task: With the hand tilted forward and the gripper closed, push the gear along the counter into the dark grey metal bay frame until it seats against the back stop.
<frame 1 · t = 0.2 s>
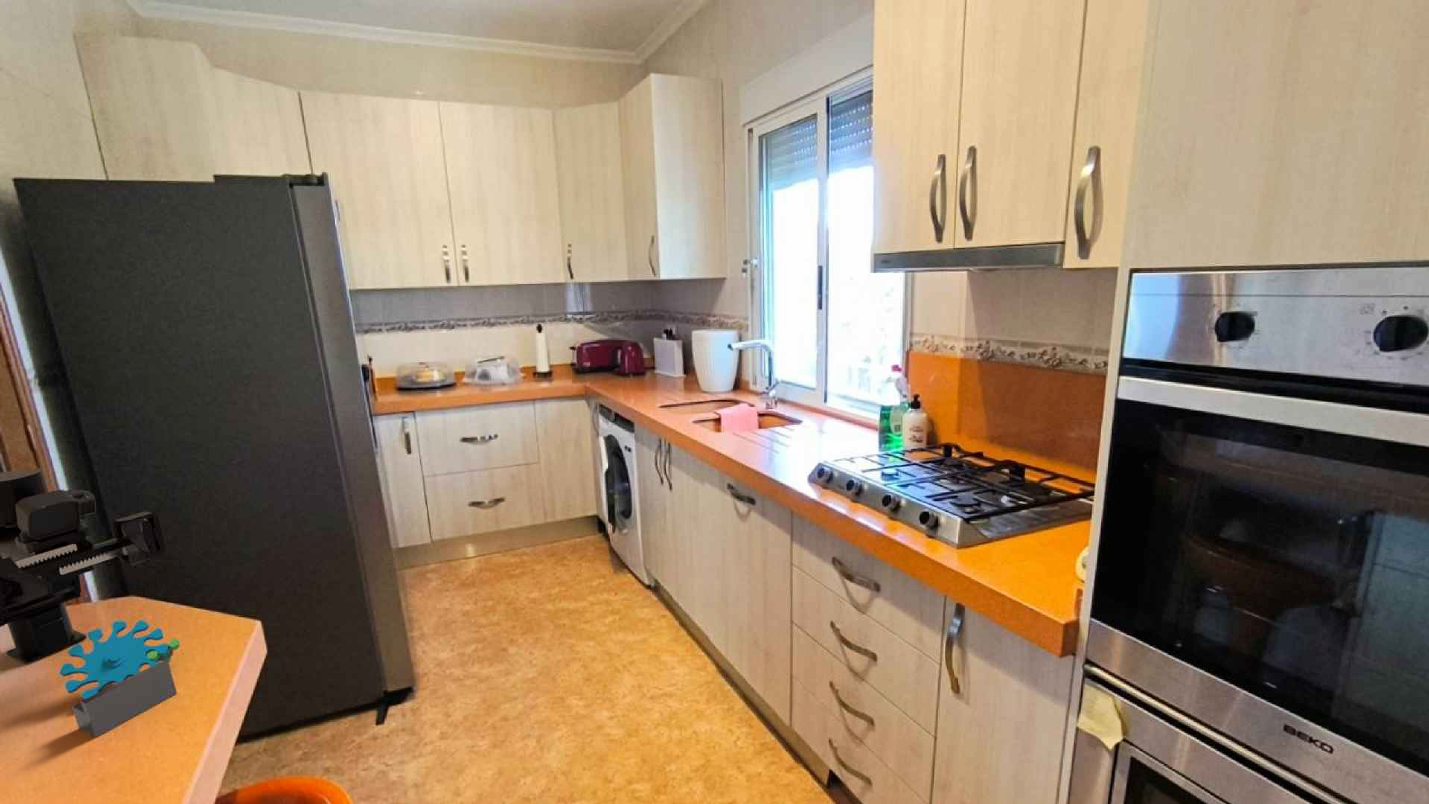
hand: (101, 571, 75), 16 cm above the table, tool horizontal, fingers open, 9 cm apart
bay frame: (137, 686, 78), on the table
gear: (130, 684, 79), on the table
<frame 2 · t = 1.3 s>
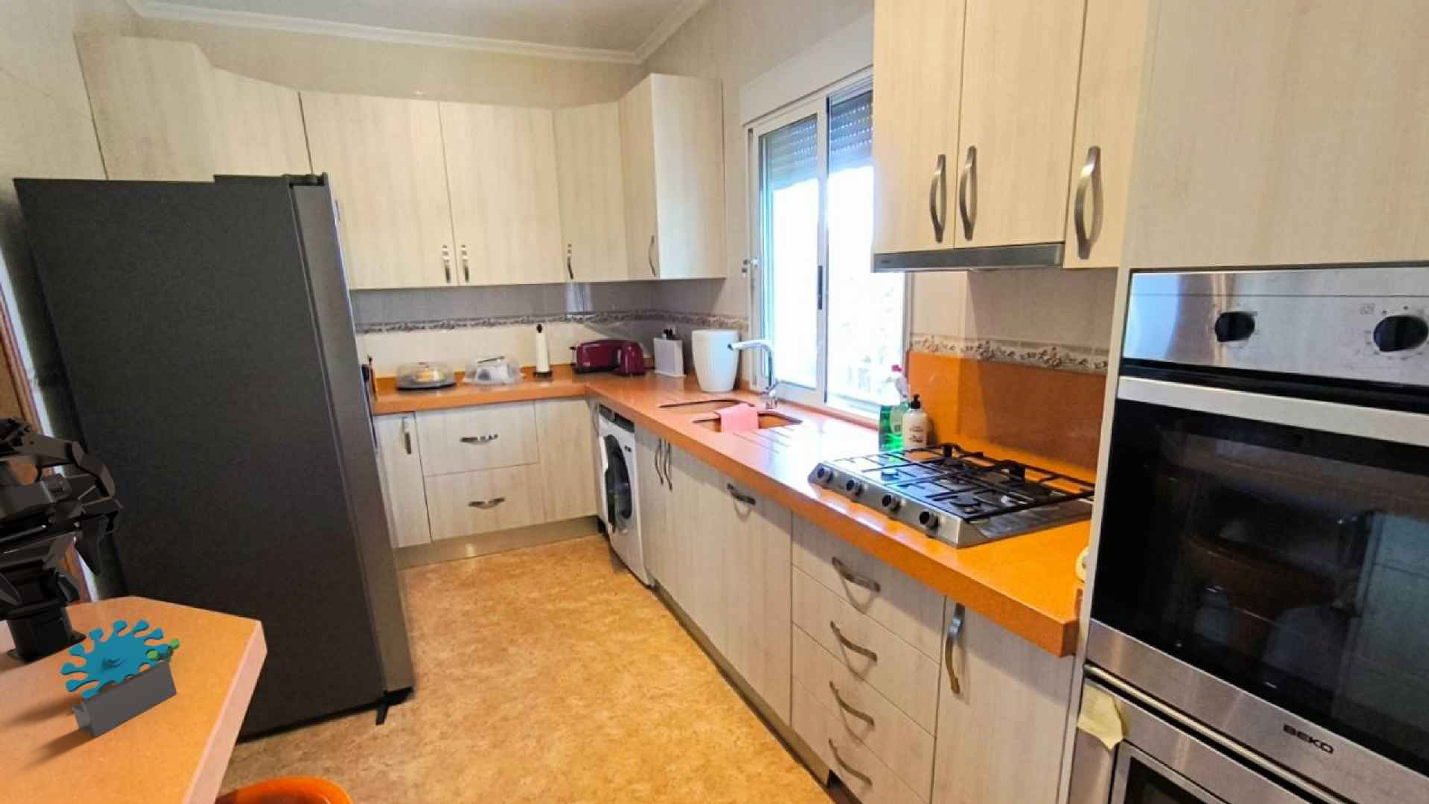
hand: (61, 587, 79), 13 cm above the table, tool tilted 45°, fingers open, 7 cm apart
nothing on the table moved.
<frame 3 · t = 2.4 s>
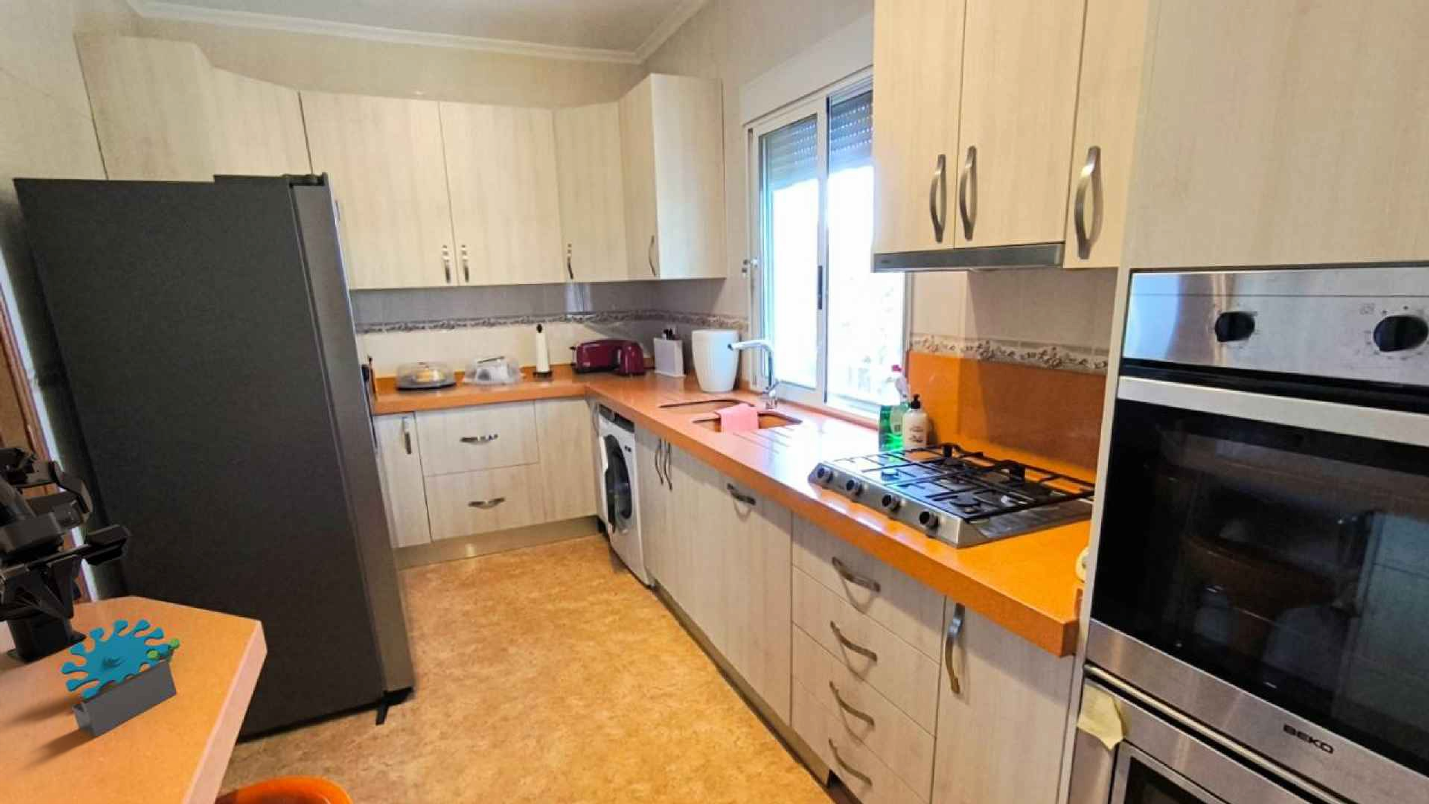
hand: (69, 618, 80), 8 cm above the table, tool tilted 45°, fingers closed
nothing on the table moved.
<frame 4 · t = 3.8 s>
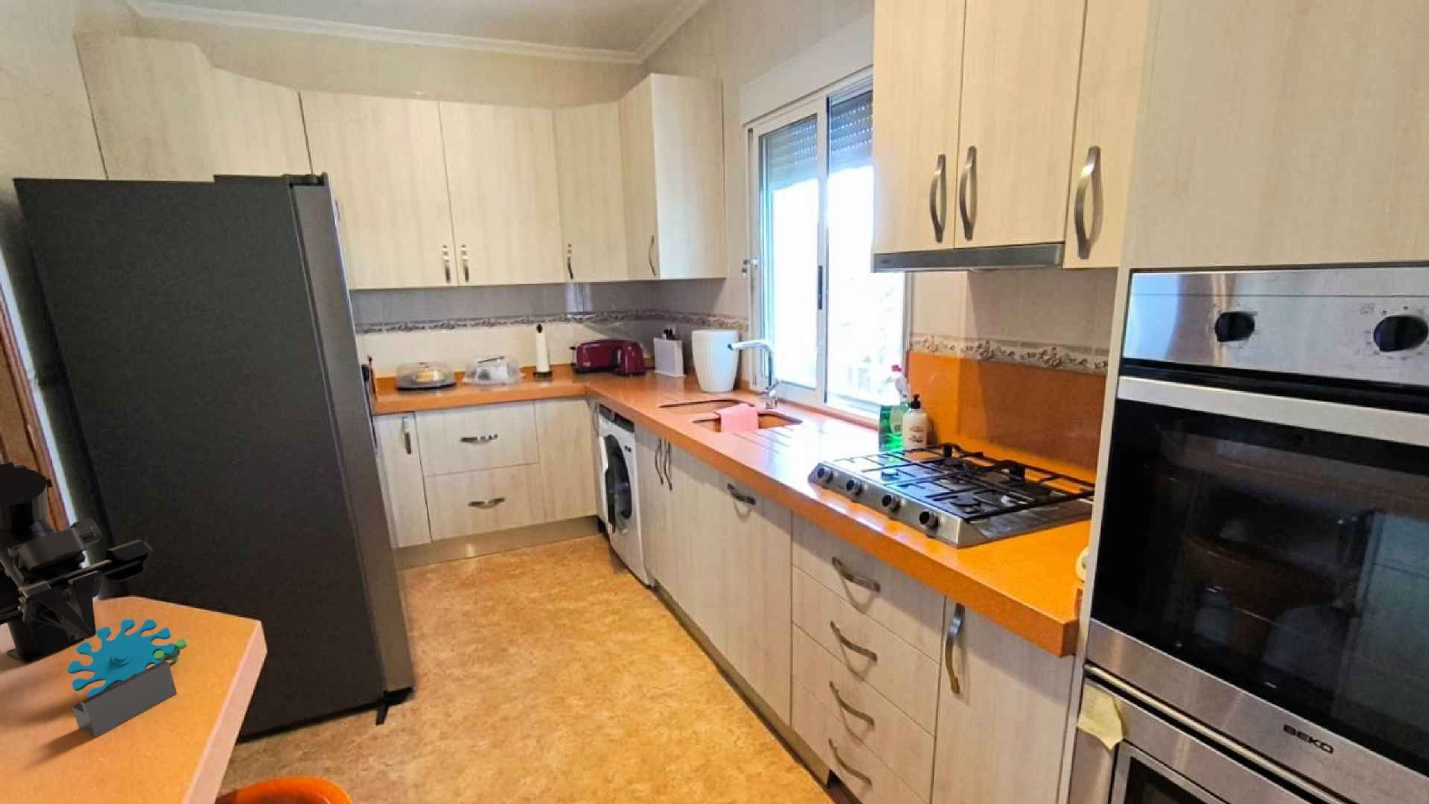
hand: (92, 635, 78), 7 cm above the table, tool tilted 45°, fingers closed
gear: (137, 683, 79), on the table, touching gripper
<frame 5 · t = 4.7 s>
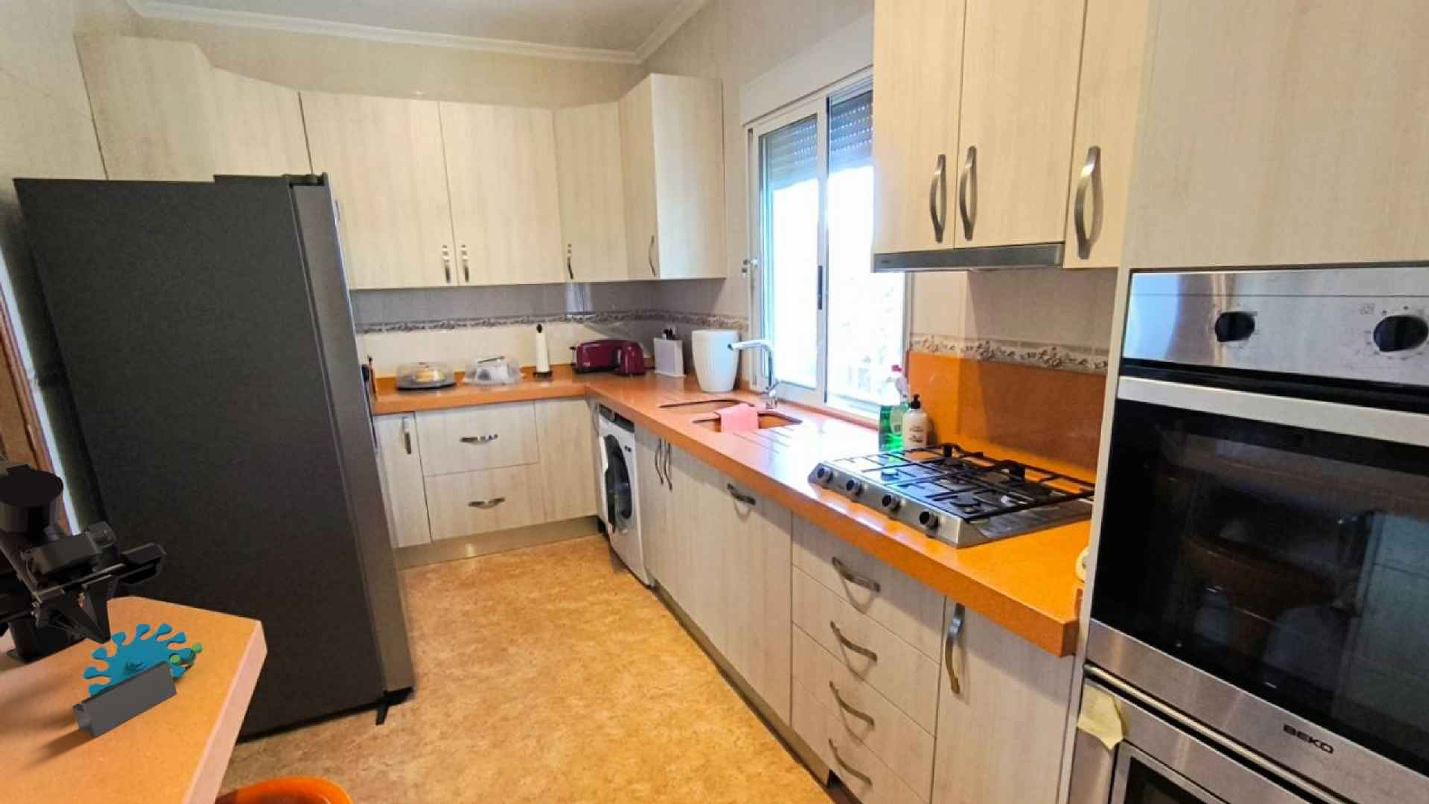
hand: (106, 641, 77), 7 cm above the table, tool tilted 45°, fingers closed
gear: (153, 688, 78), on the table, touching bay frame, gripper
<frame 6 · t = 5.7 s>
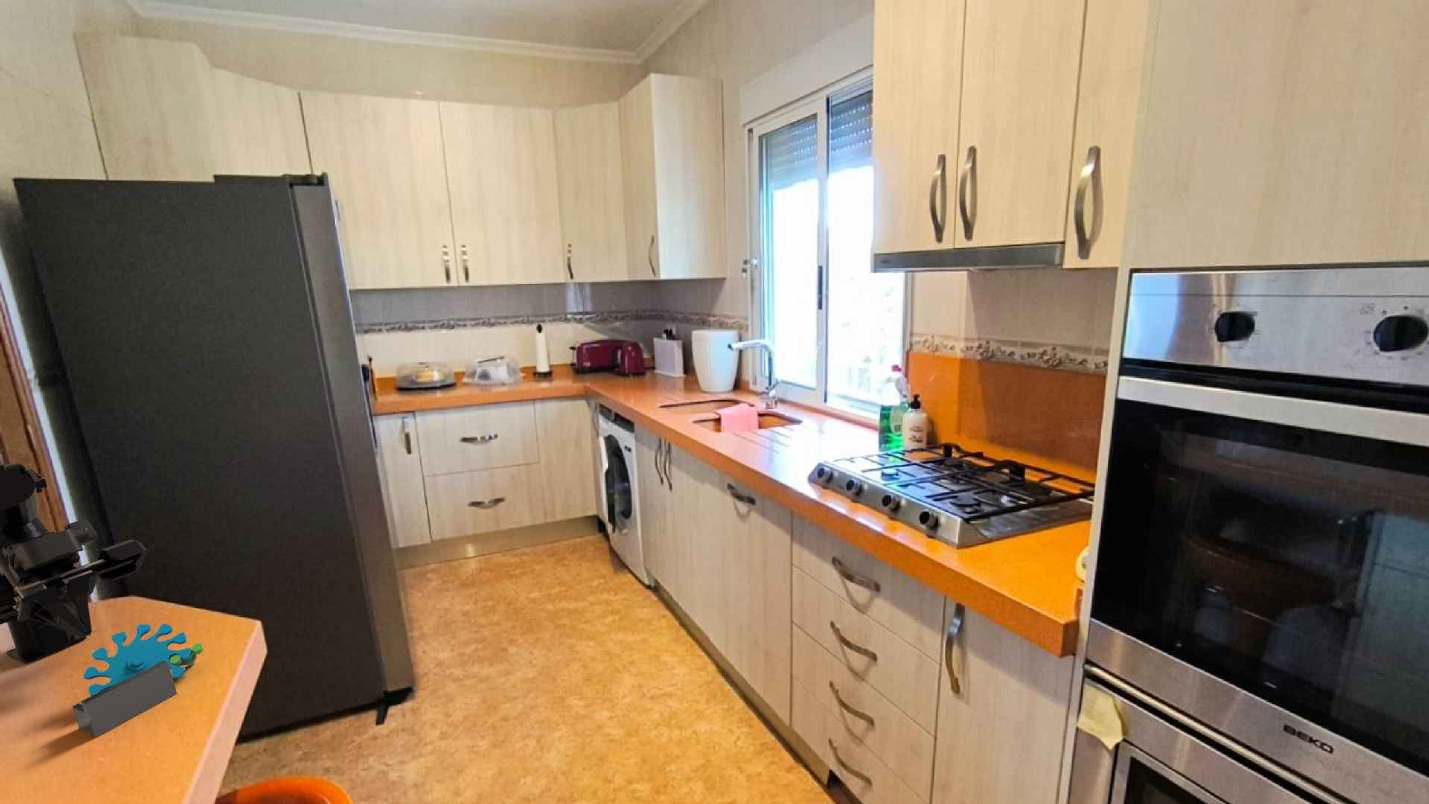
hand: (87, 634, 79), 6 cm above the table, tool tilted 45°, fingers closed
gear: (153, 688, 78), on the table
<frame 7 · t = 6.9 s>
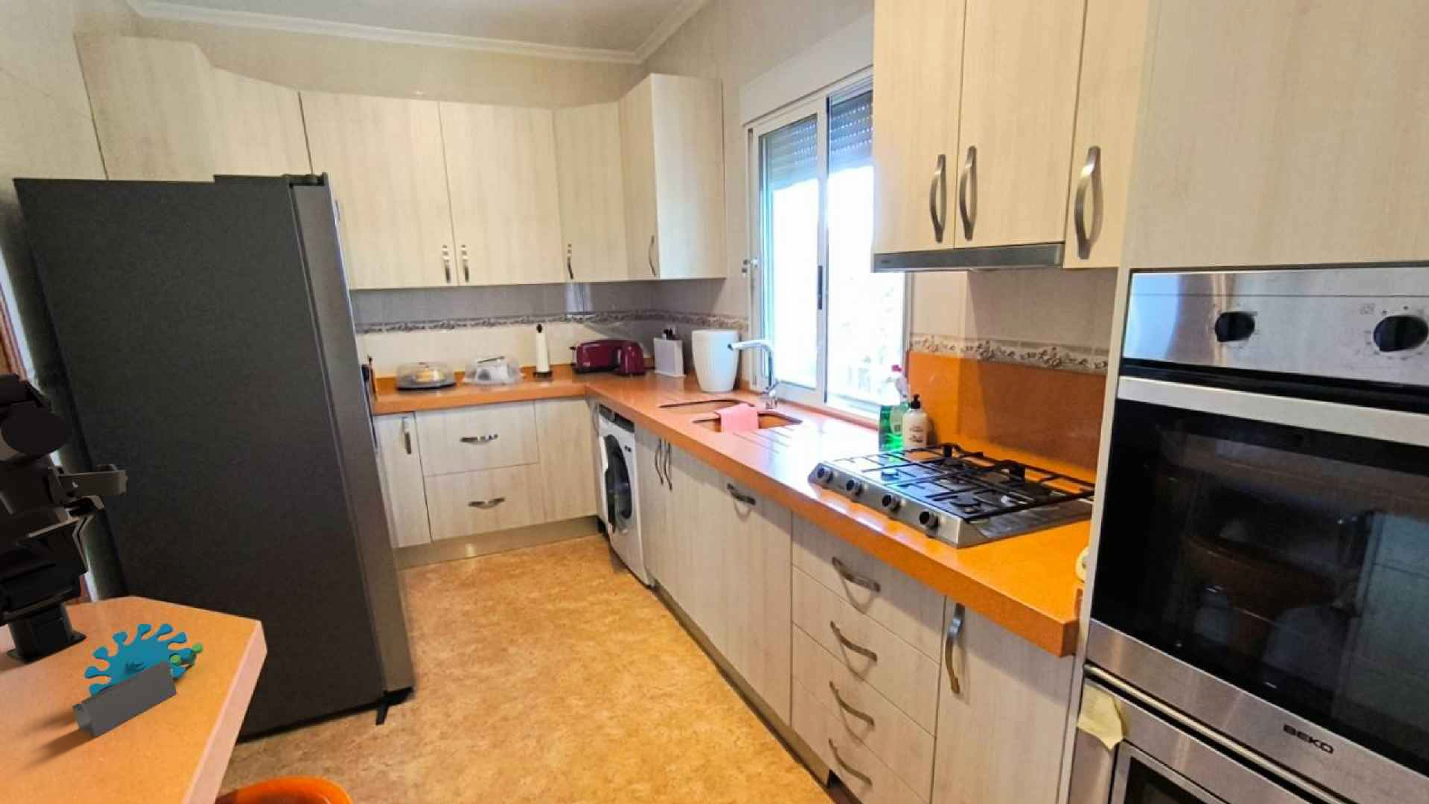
hand: (83, 574, 81), 13 cm above the table, tool tilted 15°, fingers closed
nothing on the table moved.
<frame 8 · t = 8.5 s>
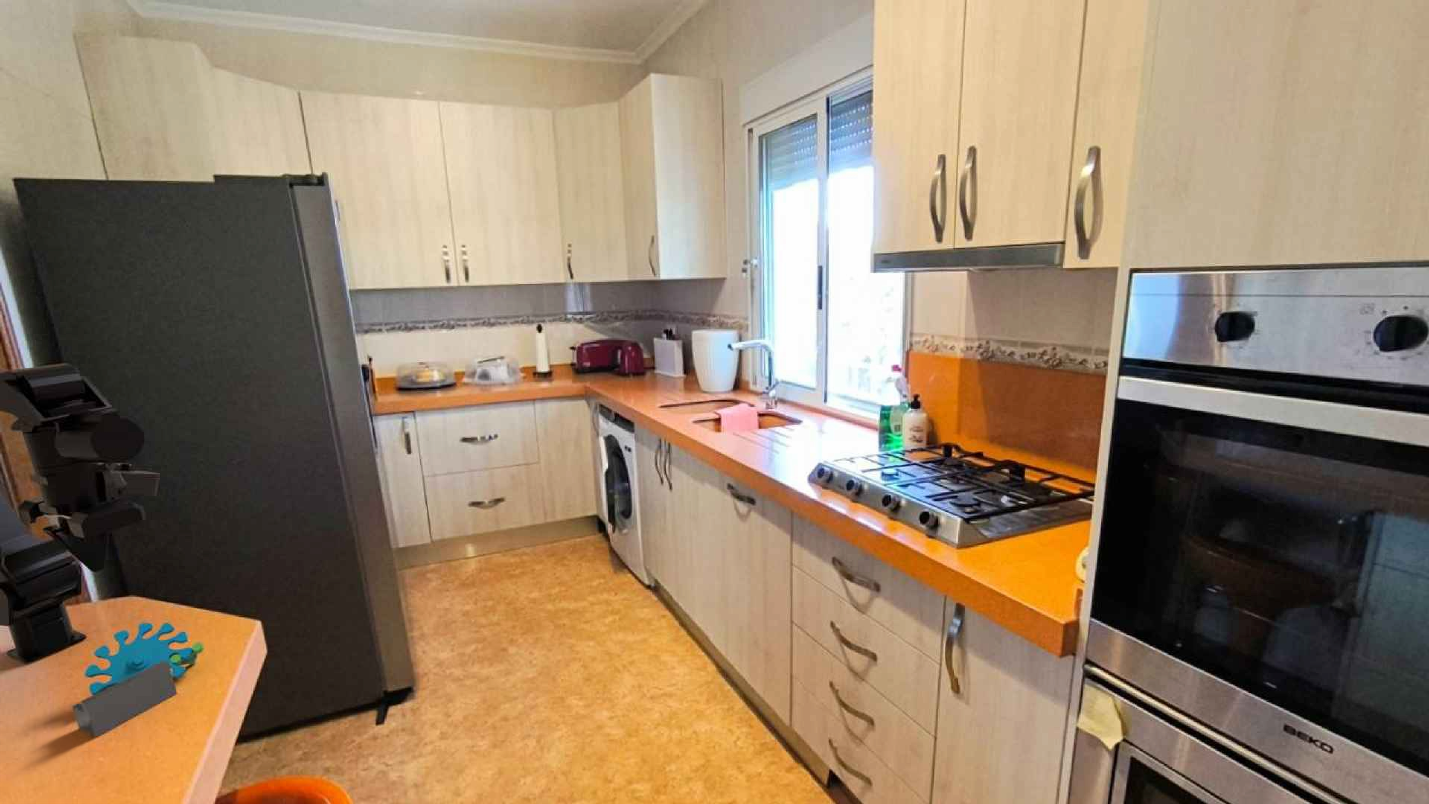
hand: (98, 570, 83), 13 cm above the table, tool pointing down, fingers closed
nothing on the table moved.
at the end: gear 1.0 cm from the target spot, on the table; gear tilted 0°; gear moved 4.0 cm from its start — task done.
